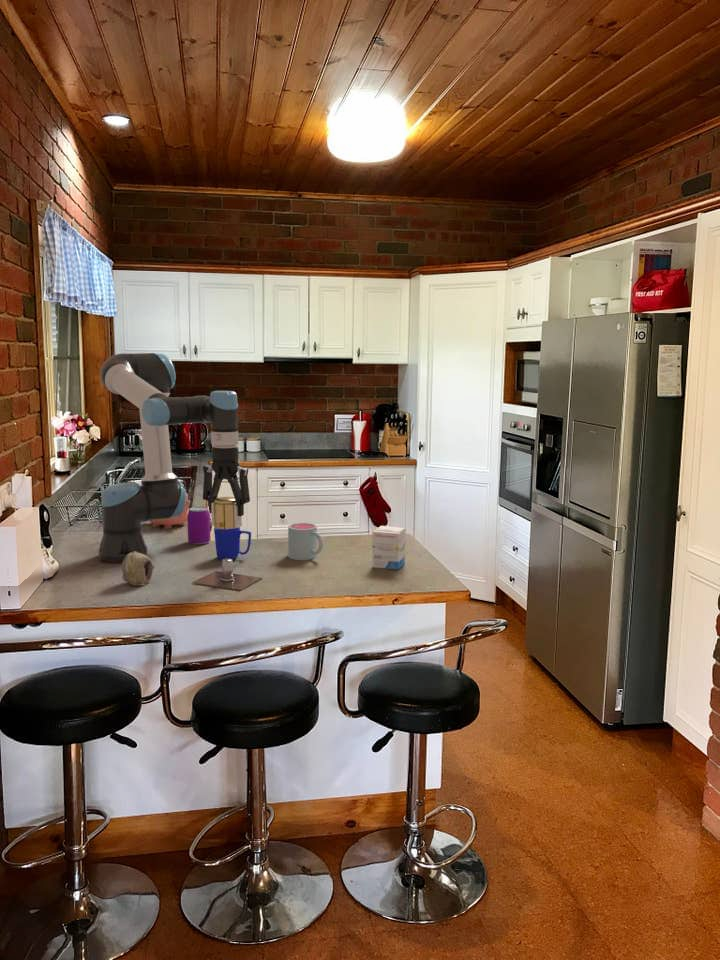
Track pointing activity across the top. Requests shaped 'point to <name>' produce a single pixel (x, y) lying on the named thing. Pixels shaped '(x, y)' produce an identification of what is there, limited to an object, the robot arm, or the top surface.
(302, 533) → the mug
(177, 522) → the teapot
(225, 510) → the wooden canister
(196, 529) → the beverage can
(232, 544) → the mug
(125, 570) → the beige round pot
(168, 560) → the top surface
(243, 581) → the square plate with knob
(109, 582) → the top surface
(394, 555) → the ink box
